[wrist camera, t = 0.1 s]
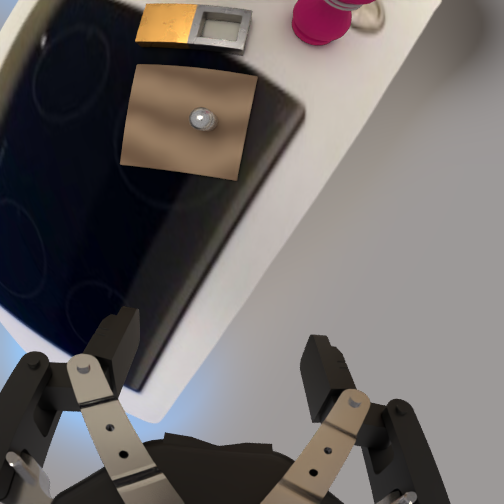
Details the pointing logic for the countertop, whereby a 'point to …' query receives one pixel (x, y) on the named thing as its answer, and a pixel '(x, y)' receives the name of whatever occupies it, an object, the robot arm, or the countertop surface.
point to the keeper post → (203, 119)
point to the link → (190, 27)
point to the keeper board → (187, 120)
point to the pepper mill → (323, 19)
